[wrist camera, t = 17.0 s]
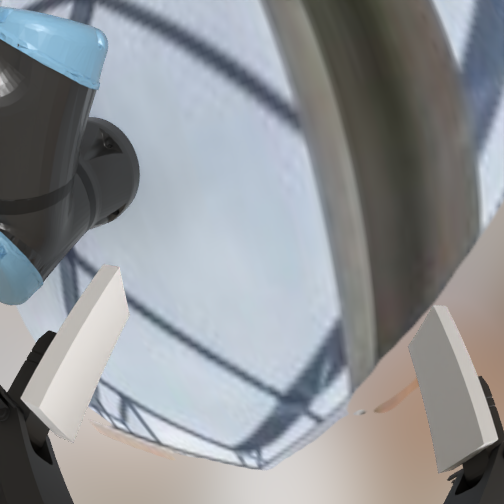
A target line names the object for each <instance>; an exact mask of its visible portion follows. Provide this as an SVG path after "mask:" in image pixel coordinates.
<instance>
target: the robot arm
mask: <svg viewBox="0 0 504 504" xmlns="http://www.w3.org/2000/svg"><path fill="white" fill-rule="evenodd" d="M107 51H108V40H107V38H106V36H105V34H104V33H103V32H102V31H101V30H99V29H97V28H95V27H92V26H89V25H86V24H83V23H79V22H76V21H72V20H68V19H65V18H60V17H56V16H52V15H48V14H44V13H39V12H34V11H29V10H23V9H16V8H9V7H2V6H0V302H1V303H4V304H7V305H20V304H23V303H24V302H26V301H27V300H28V299H29V298H30V297H31V296H32V295H33V294H34V293H35V292H36V291H37V290H38V289H39V288H40V287H41V286H42V285H43V282H44V281H45V279H46V278H47V277H48V276H49V274H50V273H51V272H52V271H53V270H54V268H55V267H56V266H57V265H58V264H59V262H60V261H61V260H62V259H63V258H64V256H65V255H66V254H67V253H68V252H69V251H70V250H71V248H72V247H73V246H74V245H75V244H76V243H77V242H78V241H79V239H80V238H81V237H82V236H83V235H84V234H85V233H86V232H87V231H88V230H90V229H93V228H95V227H98V226H100V225H103V224H106V223H108V222H111V221H113V220H114V219H116V218H117V217H119V216H120V215H121V214H122V213H123V212H124V211H125V210H126V209H127V207H128V206H129V205H130V204H131V203H132V201H133V199H134V198H135V195H136V193H137V190H138V186H139V177H140V173H139V164H138V159H137V156H136V153H135V151H134V148H133V146H132V144H131V143H130V141H129V140H128V138H127V137H126V136H125V134H124V133H123V132H122V131H121V130H120V129H119V128H118V127H116V126H115V125H113V124H112V123H110V122H108V121H106V120H103V119H100V118H94V117H89V113H90V110H91V106H92V103H93V100H94V96H95V93H96V90H98V89H99V87H100V83H99V79H100V75H101V71H102V67H103V64H104V61H105V58H106V54H107ZM129 316H130V314H129V309H128V305H127V301H126V296H125V292H124V287H123V282H122V277H121V272H120V267H117V266H111V265H105V264H103V266H102V267H101V268H100V270H99V271H98V273H97V274H96V275H95V277H94V278H93V280H92V281H91V282H90V284H89V285H88V287H87V288H86V290H85V291H84V293H83V294H82V295H81V297H80V298H79V300H78V301H77V303H76V304H75V306H74V307H73V309H72V310H71V312H70V314H69V315H68V317H67V318H66V320H65V321H64V323H63V324H62V326H61V328H60V329H59V331H58V333H55V332H52V331H47V332H46V333H45V334H44V335H43V336H41V337H40V338H39V339H38V341H37V342H36V344H35V346H34V347H33V349H32V352H30V354H29V355H28V357H27V360H26V361H25V362H24V364H23V366H22V367H21V369H20V371H19V373H18V374H17V376H16V378H15V380H14V382H13V383H12V385H11V387H10V389H9V391H8V392H6V391H5V390H4V389H3V388H2V386H1V385H0V504H74V503H73V501H72V498H71V496H70V494H69V491H68V489H67V487H66V484H65V482H64V479H63V476H62V474H61V471H60V468H59V466H58V463H57V460H56V458H55V454H54V451H53V448H52V445H51V442H50V439H49V437H48V432H49V430H51V431H52V432H53V433H54V434H55V435H56V436H58V437H61V438H63V439H65V440H67V441H70V442H72V443H74V440H75V438H76V435H77V432H78V430H79V427H80V425H81V422H82V420H83V417H84V415H85V412H86V410H87V408H88V405H89V403H90V400H91V398H92V396H93V393H94V391H95V389H96V386H97V384H98V382H99V379H100V377H101V375H102V373H103V370H104V368H105V366H106V364H107V362H108V359H109V357H110V355H111V353H112V351H113V349H114V347H115V344H116V342H117V340H118V338H119V336H120V334H121V332H122V330H123V328H124V326H125V324H126V322H127V320H128V318H129ZM408 348H409V352H410V355H411V358H412V361H413V365H414V368H415V372H416V375H417V379H418V383H419V386H420V390H421V394H422V397H423V402H424V406H425V410H426V414H427V418H428V423H429V427H430V432H431V436H432V441H433V446H434V451H435V457H436V462H437V468H438V473H442V472H446V471H450V470H453V469H454V468H456V467H458V466H460V465H461V464H463V469H461V470H459V471H458V472H456V473H454V474H453V475H451V476H450V477H449V478H448V481H450V480H452V479H454V478H455V477H456V479H455V480H453V481H452V483H453V486H452V488H451V490H450V492H449V494H448V496H447V498H446V500H445V502H444V504H504V431H503V427H502V424H501V421H500V418H499V414H498V411H497V408H496V407H495V403H494V400H493V398H492V394H491V392H490V389H489V386H488V384H487V383H486V382H485V380H484V379H483V378H482V376H477V374H476V371H475V369H474V366H473V363H472V361H471V359H470V356H469V354H468V351H467V349H466V347H465V345H464V342H463V340H462V338H461V335H460V333H459V331H458V329H457V327H456V325H455V323H454V320H453V318H452V316H451V314H450V313H449V310H448V308H447V306H438V305H433V307H432V309H431V310H430V312H429V314H428V315H427V317H426V319H425V321H424V322H423V324H422V325H421V327H420V329H419V330H418V332H417V333H416V335H415V337H414V338H413V340H412V341H411V343H410V344H409V346H408Z"/></svg>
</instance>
